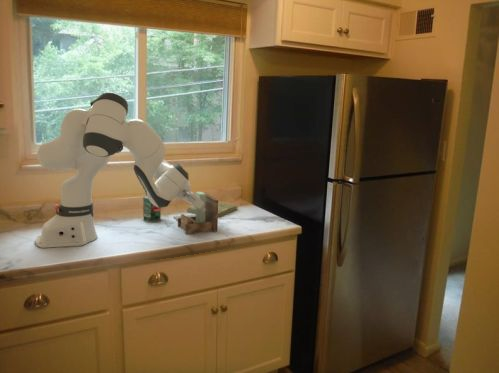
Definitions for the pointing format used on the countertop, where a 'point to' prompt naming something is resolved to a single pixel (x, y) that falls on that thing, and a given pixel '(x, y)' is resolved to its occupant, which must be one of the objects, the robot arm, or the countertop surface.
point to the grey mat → (180, 216)
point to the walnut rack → (210, 218)
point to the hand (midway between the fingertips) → (201, 208)
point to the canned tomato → (150, 210)
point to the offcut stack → (186, 221)
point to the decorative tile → (222, 208)
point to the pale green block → (200, 214)
